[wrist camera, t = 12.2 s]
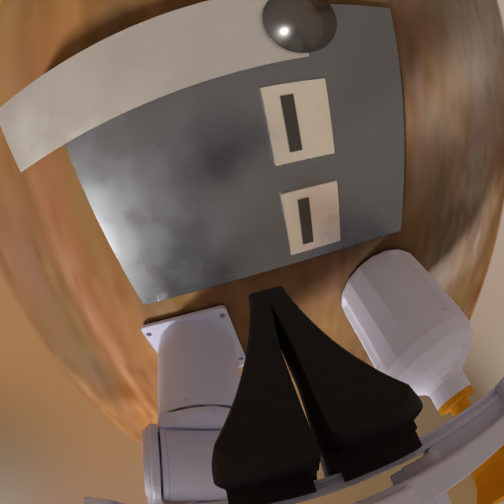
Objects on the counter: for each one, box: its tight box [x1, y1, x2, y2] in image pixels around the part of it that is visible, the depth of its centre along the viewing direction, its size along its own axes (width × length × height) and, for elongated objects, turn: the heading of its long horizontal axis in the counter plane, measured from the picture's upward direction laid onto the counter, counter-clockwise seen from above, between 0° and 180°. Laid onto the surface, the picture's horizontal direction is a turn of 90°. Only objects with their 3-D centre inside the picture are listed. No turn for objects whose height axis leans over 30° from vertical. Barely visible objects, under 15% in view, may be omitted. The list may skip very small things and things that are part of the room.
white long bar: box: [0, 0, 337, 172], centre depth 11 cm, size 18×4×3 cm, turn 105°
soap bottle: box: [341, 249, 504, 504], centre depth 18 cm, size 9×9×25 cm
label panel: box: [65, 4, 404, 305], centre depth 18 cm, size 18×22×2 cm
